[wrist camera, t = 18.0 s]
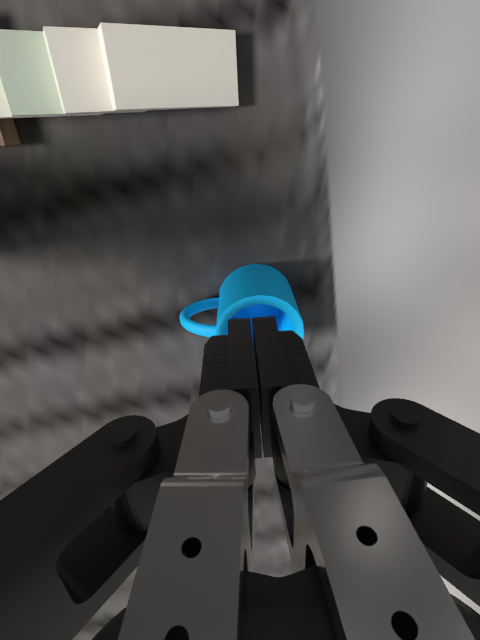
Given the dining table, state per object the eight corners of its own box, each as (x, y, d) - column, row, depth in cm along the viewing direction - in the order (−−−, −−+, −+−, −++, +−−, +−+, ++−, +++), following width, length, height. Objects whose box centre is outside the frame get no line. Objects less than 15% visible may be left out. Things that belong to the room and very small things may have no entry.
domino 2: (186, 108, 31) (64, 114, 27) (178, 36, 29) (42, 32, 25) (193, 107, 30) (65, 113, 26) (185, 32, 28) (43, 26, 24)
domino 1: (141, 112, 31) (12, 116, 27) (130, 40, 29) (-14, 34, 25) (146, 111, 30) (11, 115, 26) (135, 36, 28) (-15, 28, 24)
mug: (293, 262, 38) (307, 293, 31) (290, 329, 42) (301, 370, 35) (180, 265, 38) (168, 297, 31) (188, 332, 42) (178, 374, 35)
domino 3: (230, 106, 31) (113, 110, 27) (226, 35, 29) (97, 28, 25) (238, 105, 30) (116, 109, 26) (235, 30, 28) (100, 22, 24)
